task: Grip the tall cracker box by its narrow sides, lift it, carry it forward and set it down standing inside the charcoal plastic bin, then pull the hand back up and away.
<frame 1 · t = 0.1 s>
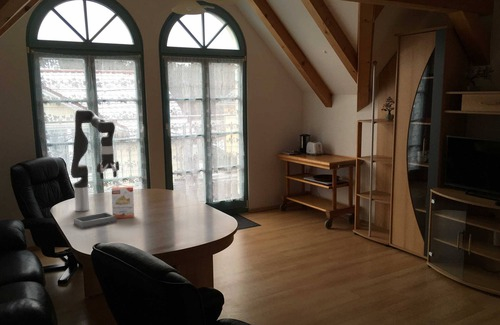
hand: (108, 177, 268), 29 cm above the table, tool pointing down, fingers open, 8 cm apart
cracker box: (123, 217, 284), on the table
bin: (95, 223, 270), on the table
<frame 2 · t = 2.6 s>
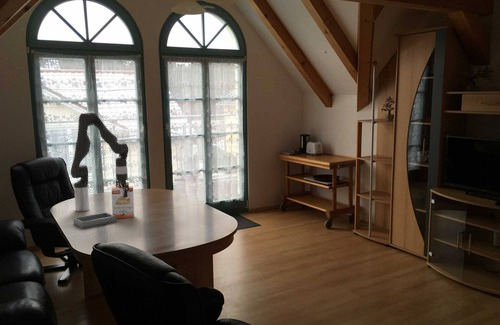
hand: (122, 196, 281), 15 cm above the table, tool pointing down, fingers open, 8 cm apart
cracker box: (123, 217, 284), on the table, touching gripper
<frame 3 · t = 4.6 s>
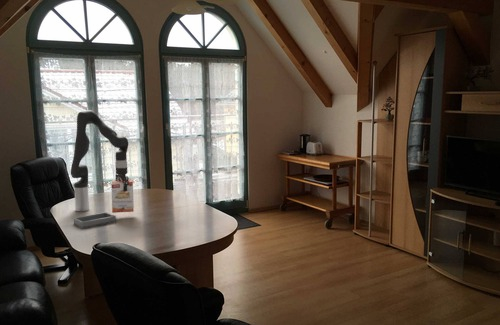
hand: (122, 190, 281), 19 cm above the table, tool pointing down, fingers closed on cracker box, 8 cm apart
cracker box: (123, 211, 283), point 4 cm above the table, touching gripper
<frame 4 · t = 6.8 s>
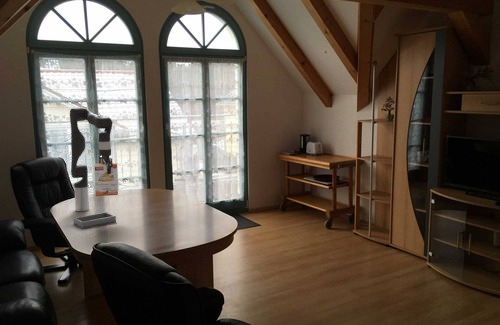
hand: (106, 173, 272), 32 cm above the table, tool pointing down, fingers closed on cracker box, 8 cm apart
cracker box: (107, 195, 274), point 17 cm above the table, touching gripper
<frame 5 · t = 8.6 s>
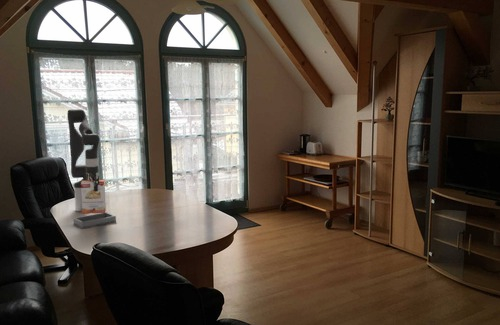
hand: (93, 190, 267), 22 cm above the table, tool pointing down, fingers closed on cracker box, 8 cm apart
cracker box: (94, 212, 269), point 7 cm above the table, touching gripper
when the fingers open (16 cm above the table, at t = 10.4 s): cracker box stays where it is, resting on bin.
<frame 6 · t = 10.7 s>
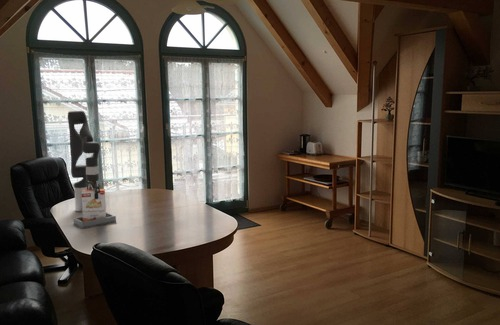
hand: (93, 198, 268), 17 cm above the table, tool pointing down, fingers open, 8 cm apart
cracker box: (94, 221, 270), point 1 cm above the table, touching bin
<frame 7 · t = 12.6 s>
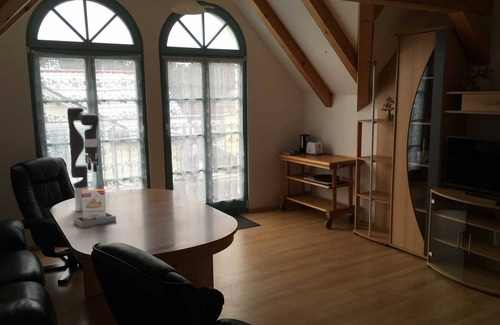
hand: (92, 170, 267), 34 cm above the table, tool pointing down, fingers open, 8 cm apart
nothing on the table moved.
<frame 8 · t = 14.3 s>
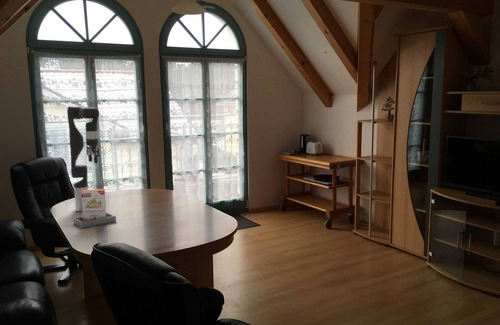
hand: (93, 162, 277), 38 cm above the table, tool pointing down, fingers open, 8 cm apart
nothing on the table moved.
at the end: cracker box inside the target area on the bin (0.0 cm from its centre), point 0.8 cm above the bin's base; cracker box tilted 0°; the gripper is holding nothing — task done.
